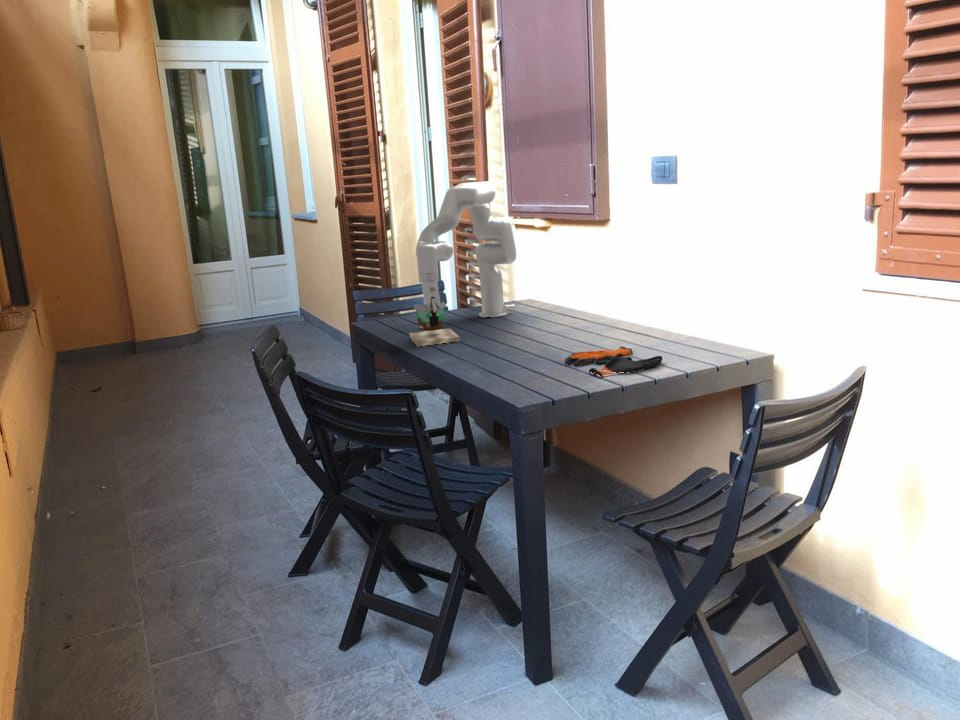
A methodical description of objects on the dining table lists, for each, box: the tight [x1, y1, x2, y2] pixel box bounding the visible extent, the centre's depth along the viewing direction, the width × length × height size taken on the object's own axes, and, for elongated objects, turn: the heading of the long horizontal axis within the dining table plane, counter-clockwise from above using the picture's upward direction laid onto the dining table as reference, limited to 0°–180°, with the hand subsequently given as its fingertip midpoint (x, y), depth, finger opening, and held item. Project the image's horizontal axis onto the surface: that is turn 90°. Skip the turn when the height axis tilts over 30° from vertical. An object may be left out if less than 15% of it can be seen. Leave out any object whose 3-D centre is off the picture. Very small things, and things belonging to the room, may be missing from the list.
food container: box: [413, 300, 446, 332], centre depth 296 cm, size 12×6×10 cm, turn 111°
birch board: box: [409, 327, 461, 348], centre depth 299 cm, size 16×18×2 cm
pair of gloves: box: [564, 345, 663, 376], centre depth 243 cm, size 27×24×3 cm
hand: (433, 324), depth 298 cm, fingers closed on food container, 5 cm apart
